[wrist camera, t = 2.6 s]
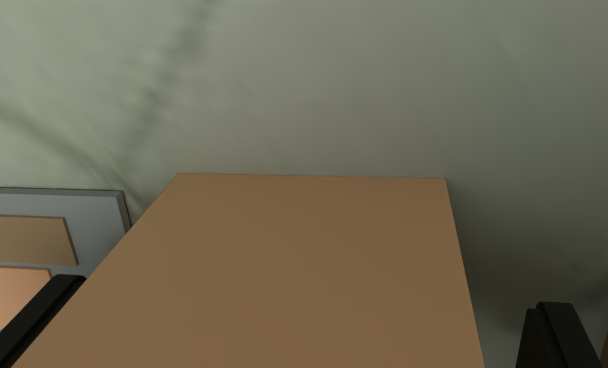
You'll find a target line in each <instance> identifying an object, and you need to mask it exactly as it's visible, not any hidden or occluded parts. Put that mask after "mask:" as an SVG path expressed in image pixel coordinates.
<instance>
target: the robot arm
mask: <svg viewBox="0 0 608 368" xmlns="http://www.w3.org/2000/svg"><path fill="white" fill-rule="evenodd" d="M86 280H87V278H86V277H85V276H82V275H71V274H57V275H55V276H54V277H52V278H51V279H50V280H49V281H48V282H47V283H46V284H45V285H44V287H43V288H42V289H41V290H40V291H39V292H38V293H37V294H36V295H35V296H34V297H33V298H32V299H31V300H30V301H29V302H28V303H27V304H26V305H25V306H24V307H23V308H22V310H21V311H20V312H19V313H18V314H17V315H16V316H15V317H14V318H13V319H12V320H11V321H10V322H9V323H8V324H7V325H6V326H5V327H4V328H3V329H2V330H1V331H0V368H11V367H12V366H13V365H14V364H15V362H16V361H17V360H18V359H19V358H20V357H21V355H22V354H23V353H24V352H25V351H26V350H27V348H28V347H29V346H30V345H31V344H32V343H33V341H34V340H35V339H36V338H37V337H38V336H39V335H40V333H41V332H42V331H43V330H44V329H45V328H46V326H47V325H48V324H49V323H50V322H51V321H52V319H53V318H54V317H55V316H56V315H57V314H58V312H59V311H60V310H61V309H62V308H63V307H64V305H65V304H66V303H67V302H68V301H69V300H70V298H71V297H72V296H73V295H74V294H75V293H76V291H77V290H78V289H79V288H80V287H81V286H82V285H83V283H84V282H85V281H86ZM516 368H603V367H602V365H601V363H600V361H599V359H598V357H597V355H596V353H595V350H594V348H593V346H592V344H591V342H590V340H589V338H588V336H587V334H586V332H585V329H584V327H583V325H582V323H581V321H580V319H579V317H578V315H577V313H576V311H575V309H574V307H573V305H572V304H570V303H559V302H538V304H537V306H536V309H533V308H529V309H528V310H527V312H526V316H525V321H524V326H523V332H522V337H521V342H520V347H519V352H518V358H517V363H516Z"/></svg>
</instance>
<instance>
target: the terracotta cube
mask: <svg viewBox="0 0 608 368" xmlns="http://www.w3.org/2000/svg"><path fill="white" fill-rule="evenodd" d="M11 368H485V365H484V360H483V355H482V350H481V346H480V341H479V336H478V331H477V327H476V322H475V317H474V312H473V308H472V303H471V298H470V293H469V289H468V284H467V279H466V274H465V270H464V265H463V260H462V256H461V251H460V246H459V241H458V237H457V232H456V227H455V222H454V218H453V213H452V208H451V203H450V199H449V194H448V189H447V184H446V180H445V179H438V178H390V177H342V176H295V175H247V174H199V173H178V174H177V175H176V176H175V178H174V179H173V180H172V181H171V182H170V183H169V185H168V186H167V187H166V188H165V189H164V190H163V191H162V193H161V194H160V195H159V196H158V197H157V198H156V200H155V201H154V202H153V203H152V204H151V205H150V207H149V208H148V209H147V210H146V211H145V212H144V214H143V215H142V216H141V217H140V218H139V219H138V221H137V222H136V223H135V224H134V225H133V226H132V228H131V229H130V230H129V231H128V232H127V233H126V235H125V236H124V237H123V238H122V239H121V240H120V241H119V243H118V244H117V245H116V246H115V247H114V248H113V250H112V251H111V252H110V253H109V254H108V255H107V257H106V258H105V259H104V260H103V261H102V262H101V264H100V265H99V266H98V267H97V268H96V269H95V271H94V272H93V273H92V274H91V275H90V276H89V278H88V279H87V280H86V281H85V282H84V283H83V285H82V286H81V287H80V288H79V289H78V290H77V291H76V293H75V294H74V295H73V296H72V297H71V298H70V300H69V301H68V302H67V303H66V304H65V305H64V307H63V308H62V309H61V310H60V311H59V312H58V314H57V315H56V316H55V317H54V318H53V319H52V321H51V322H50V323H49V324H48V325H47V326H46V328H45V329H44V330H43V331H42V332H41V333H40V335H39V336H38V337H37V338H36V339H35V340H34V341H33V343H32V344H31V345H30V346H29V347H28V348H27V350H26V351H25V352H24V353H23V354H22V355H21V357H20V358H19V359H18V360H17V361H16V362H15V364H14V365H13V366H12V367H11Z"/></svg>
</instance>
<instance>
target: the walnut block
mask: <svg viewBox="0 0 608 368" xmlns="http://www.w3.org/2000/svg"><path fill="white" fill-rule="evenodd" d="M599 361H600V363H601V365H602V367H603V368H608V333H607V337H606V340H605V343H604V347H603V350H602V354H601V357H600V360H599Z"/></svg>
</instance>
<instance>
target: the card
mask: <svg viewBox="0 0 608 368" xmlns="http://www.w3.org/2000/svg"><path fill="white" fill-rule="evenodd" d="M130 229H131V226H130V222H129V218H128V214H127V210H126V206H125V202H124V198H123V193H122V191H95V190H61V189H26V188H0V331H1V330H2V329H3V328H4V327H5V326H6V325H7V324H8V323H9V322H10V321H11V320H12V319H13V318H14V317H15V316H16V315H17V314H18V313H19V312H20V311H21V310H22V308H23V307H24V306H25V305H26V304H27V303H28V302H29V301H30V300H31V299H32V298H33V297H34V296H35V295H36V294H37V293H38V292H39V291H40V290H41V289H42V288H43V287H44V285H45V284H46V283H47V282H48V281H49V280H50V279H51V278H52V277H54V276H55V275H57V274H71V275H82V276H85V277H86V278H87V279H88V278H89V276H90V275H91V274H92V273H93V272H94V271H95V269H96V268H97V267H98V266H99V265H100V264H101V262H102V261H103V260H104V259H105V258H106V257H107V255H108V254H109V253H110V252H111V251H112V250H113V248H114V247H115V246H116V245H117V244H118V243H119V241H120V240H121V239H122V238H123V237H124V236H125V235H126V233H127V232H128V231H129V230H130Z"/></svg>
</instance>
